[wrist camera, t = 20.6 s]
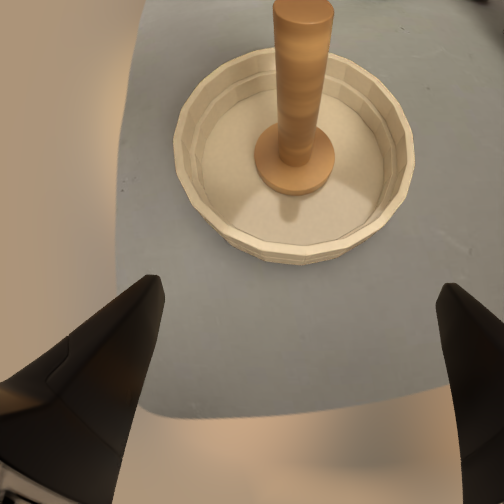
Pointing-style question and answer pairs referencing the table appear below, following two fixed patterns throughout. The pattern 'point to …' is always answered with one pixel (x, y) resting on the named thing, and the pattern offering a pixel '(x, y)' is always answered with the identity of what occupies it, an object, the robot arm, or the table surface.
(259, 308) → the table surface
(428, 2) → the table surface
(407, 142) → the bowl
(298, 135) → the tan wooden tall post
